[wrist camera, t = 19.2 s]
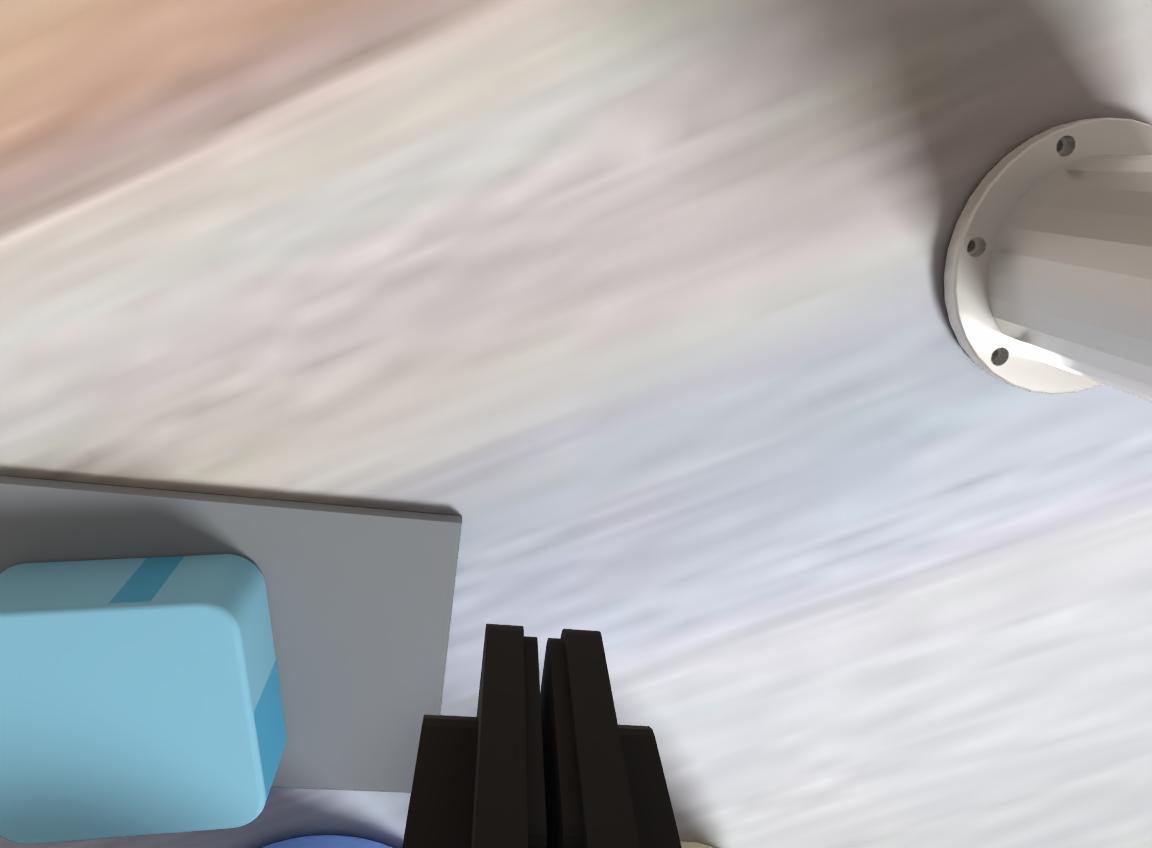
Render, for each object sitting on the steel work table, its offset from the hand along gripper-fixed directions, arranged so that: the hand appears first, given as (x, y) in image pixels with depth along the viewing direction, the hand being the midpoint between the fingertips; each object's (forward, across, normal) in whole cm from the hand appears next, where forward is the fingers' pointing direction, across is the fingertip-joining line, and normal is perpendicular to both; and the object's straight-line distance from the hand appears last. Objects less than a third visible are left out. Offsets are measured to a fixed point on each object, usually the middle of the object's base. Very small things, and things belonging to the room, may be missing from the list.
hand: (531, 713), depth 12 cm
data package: (+23, +10, +17) cm, 30 cm away
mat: (+26, +13, +17) cm, 33 cm away
